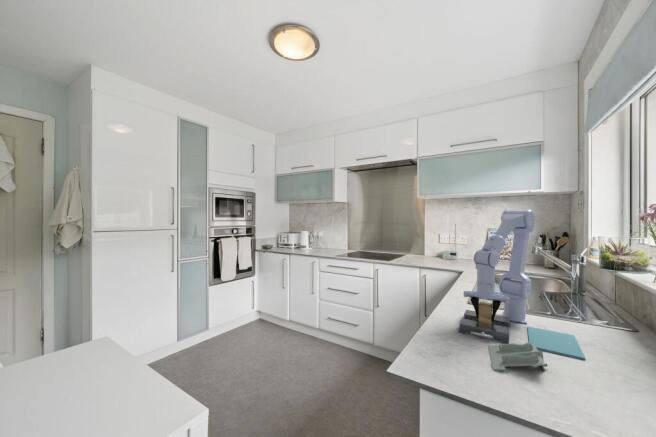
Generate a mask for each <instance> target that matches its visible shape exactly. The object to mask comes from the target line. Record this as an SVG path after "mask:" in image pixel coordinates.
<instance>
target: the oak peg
mask: <svg viewBox="0 0 656 437" xmlns="http://www.w3.org/2000/svg"><path fill="white" fill-rule="evenodd" d="M479 322H483V323H488V324H492V303H491V302H484V301H479Z"/></svg>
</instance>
